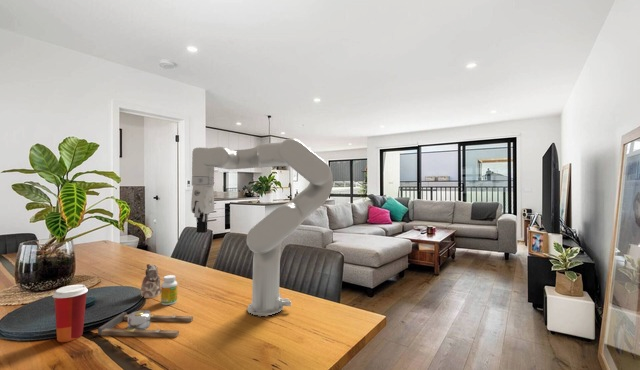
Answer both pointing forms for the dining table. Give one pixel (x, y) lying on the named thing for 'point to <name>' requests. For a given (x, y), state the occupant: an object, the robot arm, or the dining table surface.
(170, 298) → the supplement bottle
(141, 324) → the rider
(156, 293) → the figurine
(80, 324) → the paper cup
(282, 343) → the dining table surface
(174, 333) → the beam track
